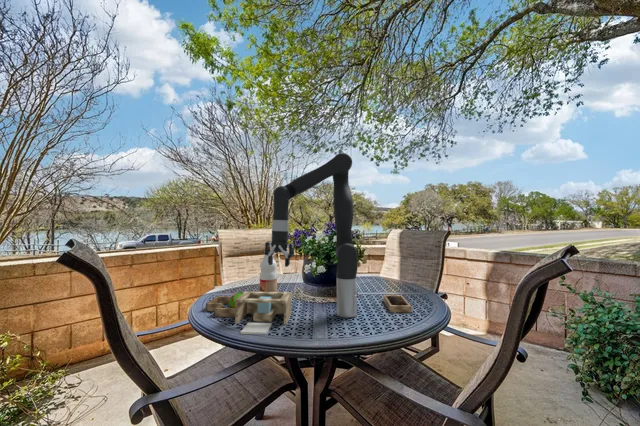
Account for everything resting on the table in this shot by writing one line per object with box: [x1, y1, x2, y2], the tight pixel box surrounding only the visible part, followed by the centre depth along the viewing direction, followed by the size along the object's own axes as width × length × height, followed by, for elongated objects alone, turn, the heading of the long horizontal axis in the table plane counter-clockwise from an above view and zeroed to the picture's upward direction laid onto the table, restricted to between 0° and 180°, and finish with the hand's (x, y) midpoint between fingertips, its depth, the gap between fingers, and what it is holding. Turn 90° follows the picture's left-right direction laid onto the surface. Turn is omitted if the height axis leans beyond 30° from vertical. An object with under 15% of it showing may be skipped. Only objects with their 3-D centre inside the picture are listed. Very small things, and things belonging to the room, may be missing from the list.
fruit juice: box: [259, 248, 278, 292], centre depth 158 cm, size 9×9×28 cm
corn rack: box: [205, 292, 238, 318], centre depth 145 cm, size 28×28×4 cm
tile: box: [240, 322, 273, 336], centre depth 116 cm, size 10×10×1 cm
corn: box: [228, 291, 244, 308], centre depth 145 cm, size 7×8×20 cm
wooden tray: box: [383, 294, 412, 313], centre depth 147 cm, size 10×19×3 cm, turn 177°
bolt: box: [387, 296, 407, 306], centre depth 146 cm, size 6×5×15 cm
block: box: [258, 297, 272, 313], centre depth 129 cm, size 5×5×6 cm
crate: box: [234, 291, 292, 325], centre depth 129 cm, size 22×14×10 cm, turn 87°
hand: (278, 265), depth 131 cm, fingers open, 8 cm apart
